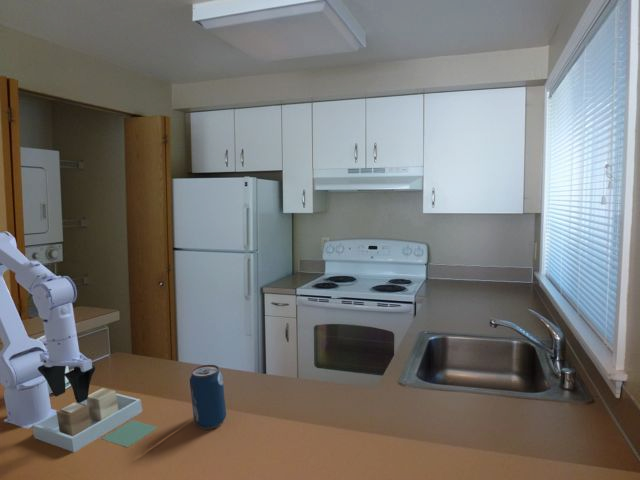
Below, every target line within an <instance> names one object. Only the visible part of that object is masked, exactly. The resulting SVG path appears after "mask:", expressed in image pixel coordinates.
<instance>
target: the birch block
mask: <svg viewBox="0 0 640 480" xmlns="http://www.w3.org/2000/svg"><path fill="white" fill-rule="evenodd" d="M116 393H117V392H116V390H112V389H109V388H105V387H102V388H99V389H98V390H96V391H94V392H92V393H90V394H88V399H87V405H88V407H89V413H90V420H93V421H97V422H99V421H101V420H103V419H105V418H106V417H108V416H110V415H112V414H114V413H115V412H117V411H118V404H117V397H116Z"/></svg>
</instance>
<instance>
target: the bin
mask: <svg viewBox="0 0 640 480" xmlns="http://www.w3.org/2000/svg"><path fill="white" fill-rule="evenodd" d="M116 397H117V404H118V411H117V412H115V413H114V414H112V415H110V416H108V417H106V418H105V419H103V420H101V421H99V422H97V421H93V420H91V426H90V427H89V428H87V429H85V430H83V431H82V432H80V433H78V434H76V435H74V436H70V435H67V434H64V433H61V432H60V431H59V425H58V418H57V413H55V414H54V415H52V416H50V417H48V418H46V419H44V420H42V421H40V422H38V423H36V424H34V425H32V431H33V436H34V439H37V440H39V441H42V442H45V443H48V444H49V445H53V446H56V447H59V448H62V449H64V450H67V451H69V452H72V453H76V452H77V451H79V450H80V449H82V448H84V447H85V446H87V445H90V444H91V443H92V442H94V441H95V440H96V441H97V439H99V438H100V437H101V438H102V436H103V435H106V434H107V433H110V431H113V430H114V429H117V427H120V426H122V424H124V423H125V422H126V423H127V421H130V420H132V418H134V417H136V416H138V415H139V414H141V413H142V412H143V407H142V399H140V398H136V397H131V396H128V395H123V394H121V393H117V392H116ZM81 403H82V404H85V405H87V400H85V401H83V402H81Z"/></svg>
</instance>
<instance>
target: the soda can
mask: <svg viewBox="0 0 640 480" xmlns="http://www.w3.org/2000/svg"><path fill="white" fill-rule="evenodd" d="M189 387H190V397H191V407H192V415H193V421H194V423H195V424H196V425H197V426H198V427H199V428H201V429H204V430H210V429H215V428H217V427H219V426H221V425H222V424H223V423H224V421H225V419H226V417H227V409H226V408H227V406H226V398H225V387H224V377H223V374H222V372H221V371H220V368H219V366H217V365H215V364H204V365H200V366H198V367H195V368H194V369H192V370H191V376H190V378H189ZM214 427H215V428H214Z"/></svg>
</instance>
